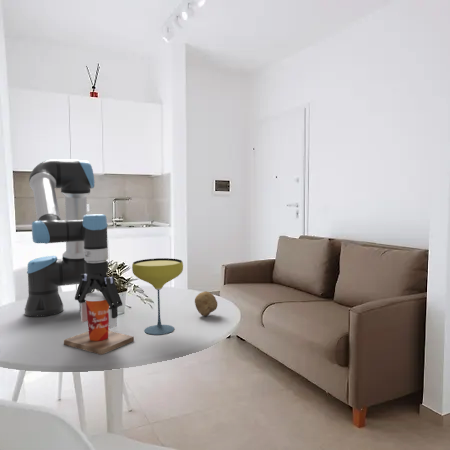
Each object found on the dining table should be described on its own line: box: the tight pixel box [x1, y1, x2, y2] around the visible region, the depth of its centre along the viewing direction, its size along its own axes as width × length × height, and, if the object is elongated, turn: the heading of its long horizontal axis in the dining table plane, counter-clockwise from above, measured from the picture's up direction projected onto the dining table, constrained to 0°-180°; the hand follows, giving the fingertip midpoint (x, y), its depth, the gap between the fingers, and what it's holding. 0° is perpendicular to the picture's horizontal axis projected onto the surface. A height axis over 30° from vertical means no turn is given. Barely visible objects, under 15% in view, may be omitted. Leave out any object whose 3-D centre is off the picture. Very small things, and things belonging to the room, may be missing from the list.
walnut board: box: [63, 330, 135, 356], centre depth 137 cm, size 18×14×2 cm
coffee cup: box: [85, 291, 110, 341], centre depth 137 cm, size 8×8×15 cm
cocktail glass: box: [131, 257, 184, 336], centre depth 149 cm, size 18×18×25 cm
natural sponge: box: [194, 291, 218, 317], centre depth 166 cm, size 9×9×10 cm
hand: (98, 324), depth 137 cm, fingers open, 13 cm apart
